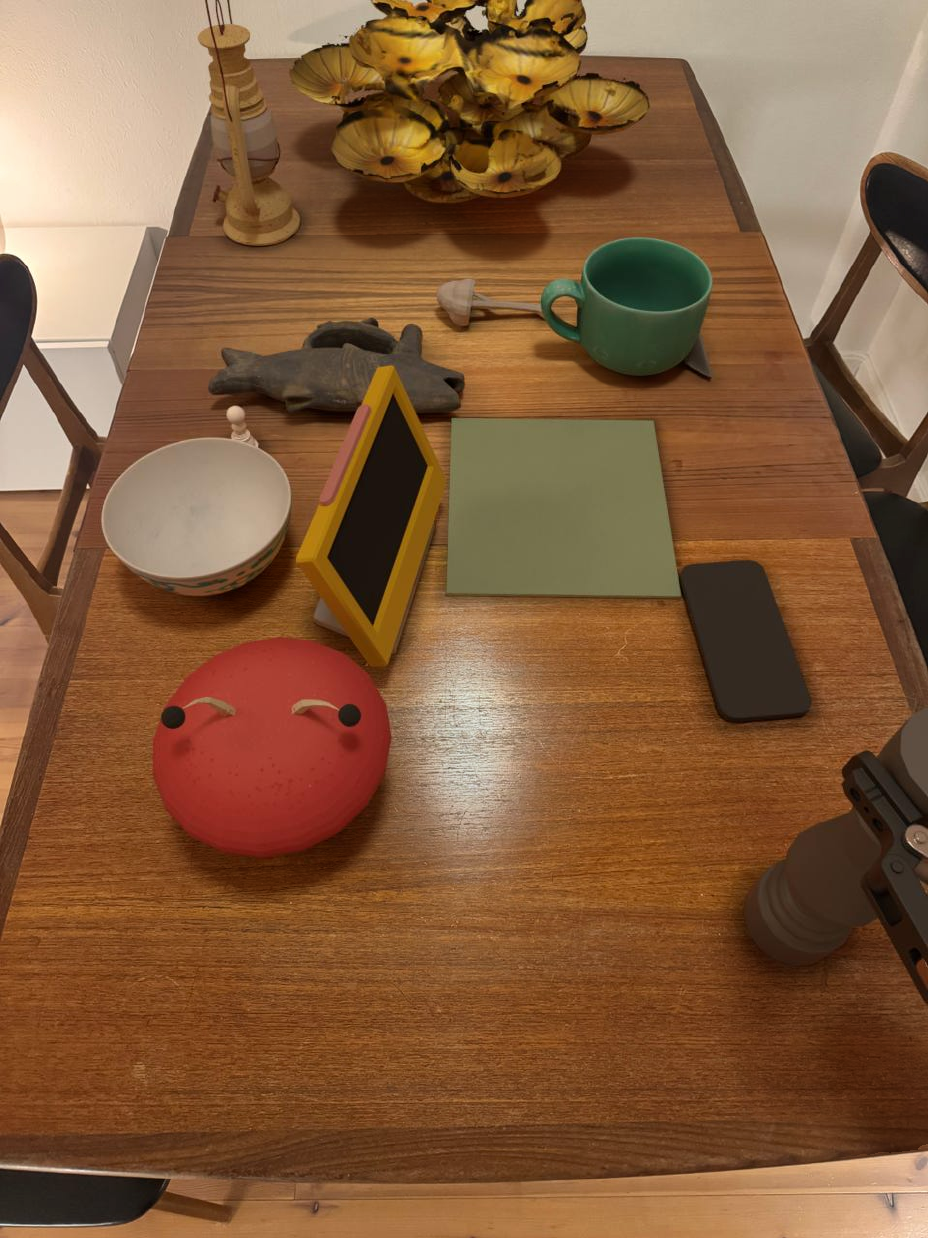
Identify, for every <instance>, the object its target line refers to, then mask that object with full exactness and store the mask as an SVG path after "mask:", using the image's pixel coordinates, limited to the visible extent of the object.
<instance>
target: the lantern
mask: <svg viewBox="0 0 928 1238" xmlns="http://www.w3.org/2000/svg"><path fill="white" fill-rule="evenodd" d="M204 2H205V3H204V4H205V8H206V13H207V19H208V25H209V27H207V28H204V29H203V30H201V31H200V32H199V34H198V35H197V41H198V43H199V44H200V45H201V46H202V47H203V48H206V49H207V52H208V55H209V56H210V57H212V61H211V62H210V63H209V64H208V66H207V68H208V74H209V77H210V80H209V89H210V93H209V95H208V100H209V102H210V103H211V106H210V109H211V110H210V111H211V114H210V129H211V130H210V131H211V140H212V144H213V147H214V151H215V153H216V156H217V159H216V161H217V162H219V163H220V166H221V168H222V169H223V170H224V171H225V172H226V173H227V174H228V176H229V177H230V178H232V179H233V180H236V182H235V183H234V184H233V186H232V187H231V189H230V191H229V192H228V191H225V190H223V189H221V186H220V185H218V184H217V185H216V187H215V190H214V192H213V197H212V202H213V203H217V201H218V202H221V203H223V204H224V205H225V211H226V216H225V217H224V219H223V226H222V228H223V232H224V234H225V235H226V236H227V238H229V239H230V240H232V241H233V242H236V243H239V244H242V245H246V246H257V247H264V246H265V247H266V246H273V245H279V244H280V243H282V242H285V241H286V240H288V239H289V238H291V237H292V236H293V235H295V234H296V233H297V232H298V230H299V228H300V225H301V217H300V214H299V213H298V211H297V210H296V209H295V208H294V207H293V206H292V199H291V196H290V194H289V193H288V192H287V191H286V190H285V189H284V188H283V186H281V185H280V184H279V183H278V182H277V181H276V180H274V179H273V178H271V177H270V176H271V175H272V174H274V172H275V170H276V166H277V165H278V164H279V161H280V159H281V146H280V143H279V141H278V133H277V129H276V125H275V122H274V119H273V115H272V112H271V111H270V109H269V107H267V106H268V104H267V101H266V99H264V91H263V89H261V88H260V87H259V85H258V78H257V76H255V74H254V67H253V63H252V61H251V59H249V58H246V57H245V53H246V44H247V43H248V42H249V41H250V38H251V32H250V30H248V28H247V27H244V26H242V25H238V24H234V23H233V19H232V11H231V3H230V0H226V2H227V11H228V17H229V22H230V23H225V21H224V15H223V8H222V4H221V2H220V0H215V1H214V4H215V14H216V19H217V24H216V25H213V24H212V18H211V13H210V9H209V3H208V0H204ZM218 7H219V11H220V17H221V18H219V11H218ZM220 19H221V21H220ZM221 22H222V24H221Z"/></svg>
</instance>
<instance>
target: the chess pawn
mask: <svg viewBox="0 0 928 1238" xmlns="http://www.w3.org/2000/svg"><path fill="white" fill-rule="evenodd" d="M225 414H226V415H225V416H226V419H227V421H228V422H229V423H230V424H231V425H230V427H231V429H232V432H231V435H230V439H233V440H238V441H242V442H245V443H248V444H251V445H253V446H255V447H258V448H259V442H258V441H257V439H255V437H254V436H253V435H252V434H251V433H250V430H248V429H247V428H246V427H247V423H246V422H245V419H246V412H245V410H244V408H242V407H241V406H238V405H232V406H230V407H229V408H228V409H227V410H226V413H225Z"/></svg>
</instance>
